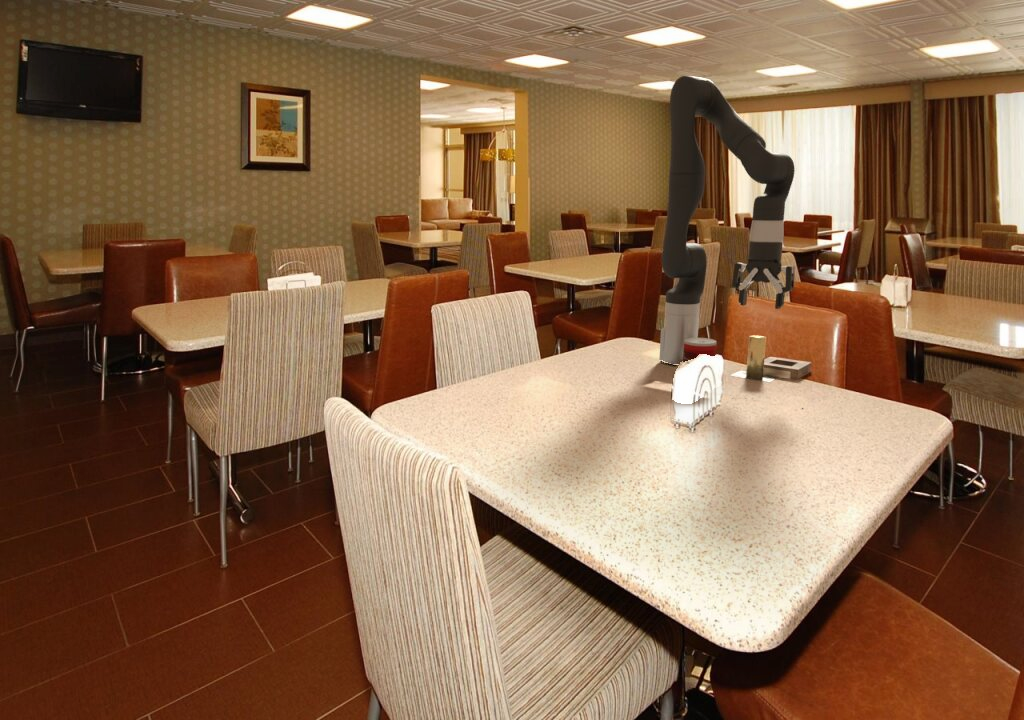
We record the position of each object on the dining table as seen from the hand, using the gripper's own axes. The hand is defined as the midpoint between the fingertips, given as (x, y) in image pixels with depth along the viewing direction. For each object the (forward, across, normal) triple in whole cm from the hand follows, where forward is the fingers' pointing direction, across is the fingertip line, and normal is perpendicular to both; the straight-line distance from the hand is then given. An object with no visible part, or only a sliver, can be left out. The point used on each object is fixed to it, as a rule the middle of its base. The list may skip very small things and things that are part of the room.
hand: (760, 306), depth 165 cm
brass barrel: (+18, 0, 0) cm, 18 cm away
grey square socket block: (+19, +4, +9) cm, 21 cm away
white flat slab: (+19, 0, 0) cm, 19 cm away
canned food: (+19, -10, -11) cm, 24 cm away
